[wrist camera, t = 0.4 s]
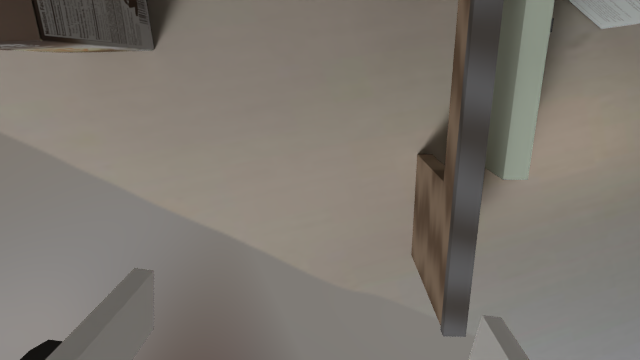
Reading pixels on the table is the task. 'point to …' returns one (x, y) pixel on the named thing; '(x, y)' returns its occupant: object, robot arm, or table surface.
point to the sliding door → (518, 86)
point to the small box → (610, 12)
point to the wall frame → (458, 170)
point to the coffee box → (75, 25)
